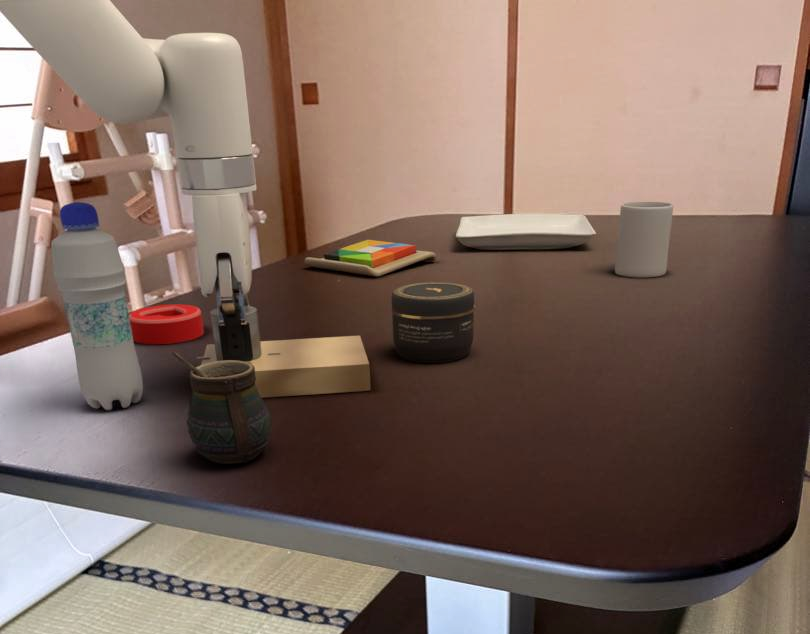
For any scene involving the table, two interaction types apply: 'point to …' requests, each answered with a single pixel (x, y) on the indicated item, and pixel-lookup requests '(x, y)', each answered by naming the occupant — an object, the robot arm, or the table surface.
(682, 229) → the table surface
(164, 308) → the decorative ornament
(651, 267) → the mug
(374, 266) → the wooden puzzle
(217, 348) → the cylinder
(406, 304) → the jar
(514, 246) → the square plate
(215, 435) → the mate gourd
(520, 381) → the table surface
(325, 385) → the wooden peg base
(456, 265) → the table surface
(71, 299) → the bottle
